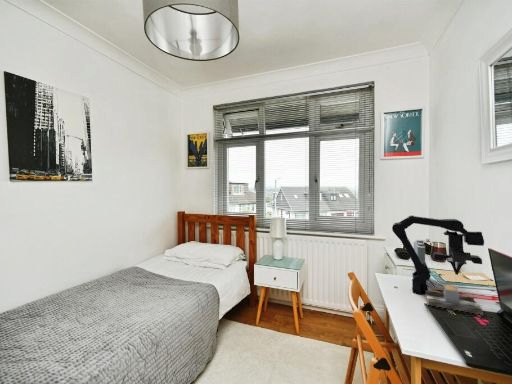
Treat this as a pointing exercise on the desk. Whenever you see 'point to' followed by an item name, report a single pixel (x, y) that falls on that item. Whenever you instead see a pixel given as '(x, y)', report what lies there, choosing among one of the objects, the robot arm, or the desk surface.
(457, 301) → the module
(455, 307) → the rail board
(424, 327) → the desk surface
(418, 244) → the flask
